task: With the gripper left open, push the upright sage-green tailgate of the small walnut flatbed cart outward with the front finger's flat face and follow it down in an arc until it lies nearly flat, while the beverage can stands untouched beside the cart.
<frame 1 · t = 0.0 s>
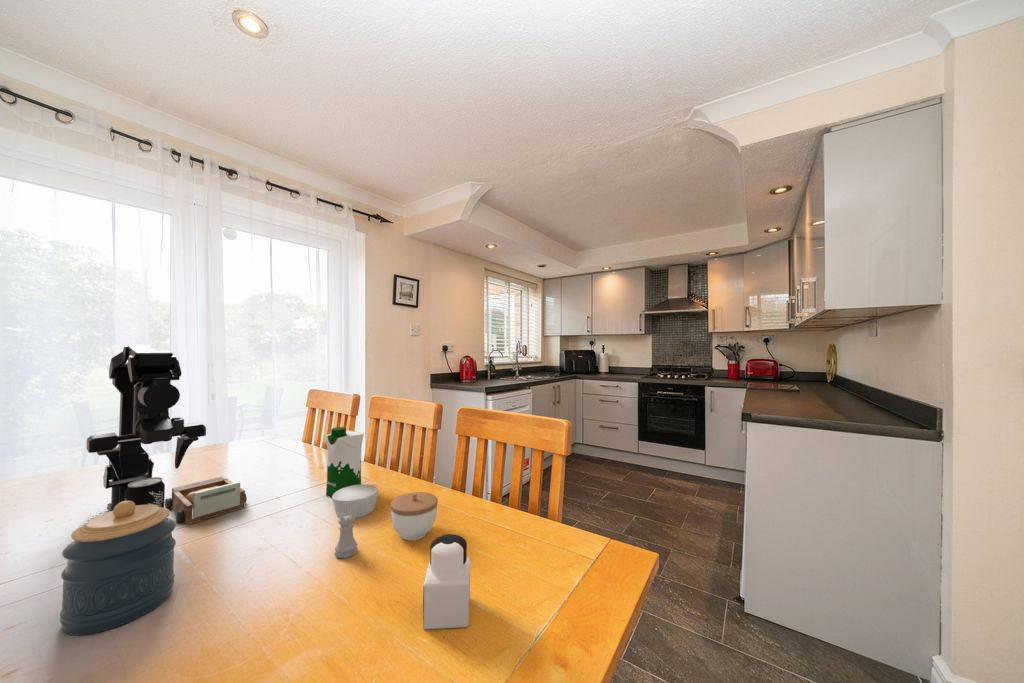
hand: (149, 473, 82), 15 cm above the table, fingers open, 9 cm apart
lidded jar: (414, 534, 85), on the table
canister: (121, 608, 60), on the table
milk carton: (344, 494, 107), on the table
medicine bottle: (447, 614, 60), on the table
rook chess piece: (346, 554, 76), on the table
ramekin: (355, 512, 96), on the table
tailgate: (217, 499, 93), point 4 cm above the table, hinge at 0.0°
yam: (204, 500, 99), point 1 cm above the table, touching flatbed cart
beverage can: (144, 533, 84), on the table
flatbed cart: (208, 507, 97), on the table
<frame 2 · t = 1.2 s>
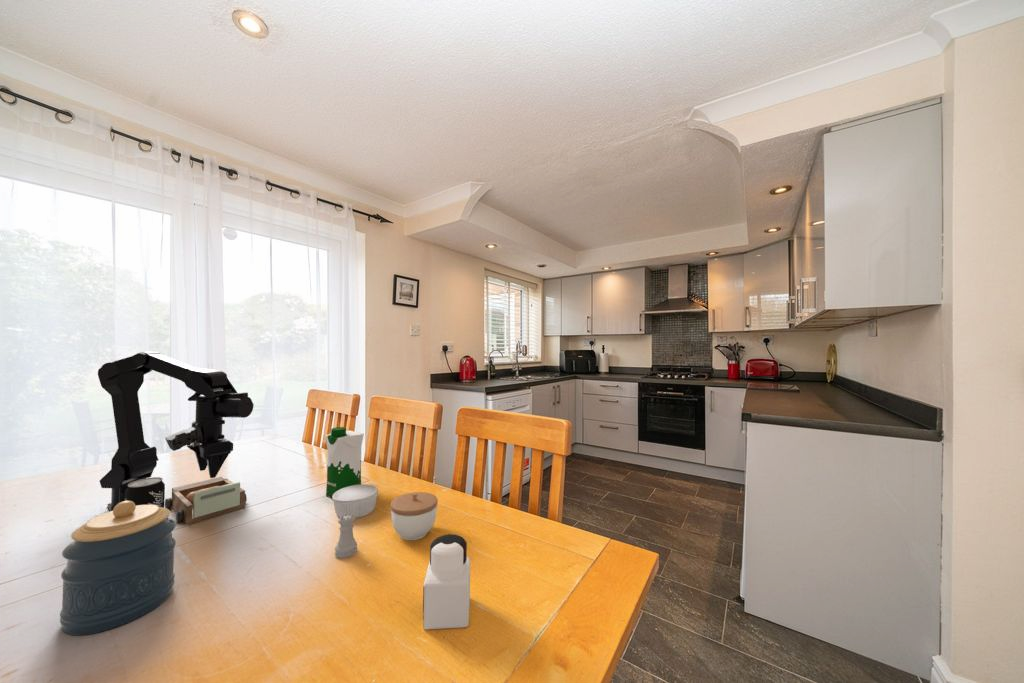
hand: (207, 474, 98), 9 cm above the table, fingers open, 9 cm apart
nothing on the table moved.
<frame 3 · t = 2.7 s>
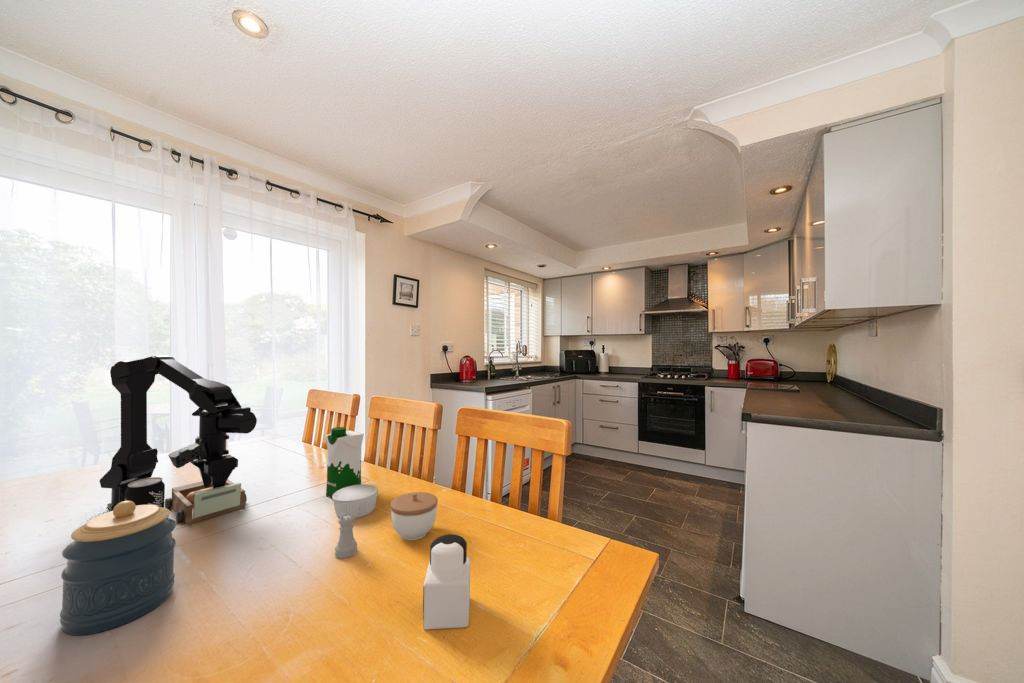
hand: (211, 490, 96), 5 cm above the table, fingers open, 8 cm apart
tailgate: (218, 499, 93), point 4 cm above the table, hinge at 6.7°, touching gripper
everything else where it was.
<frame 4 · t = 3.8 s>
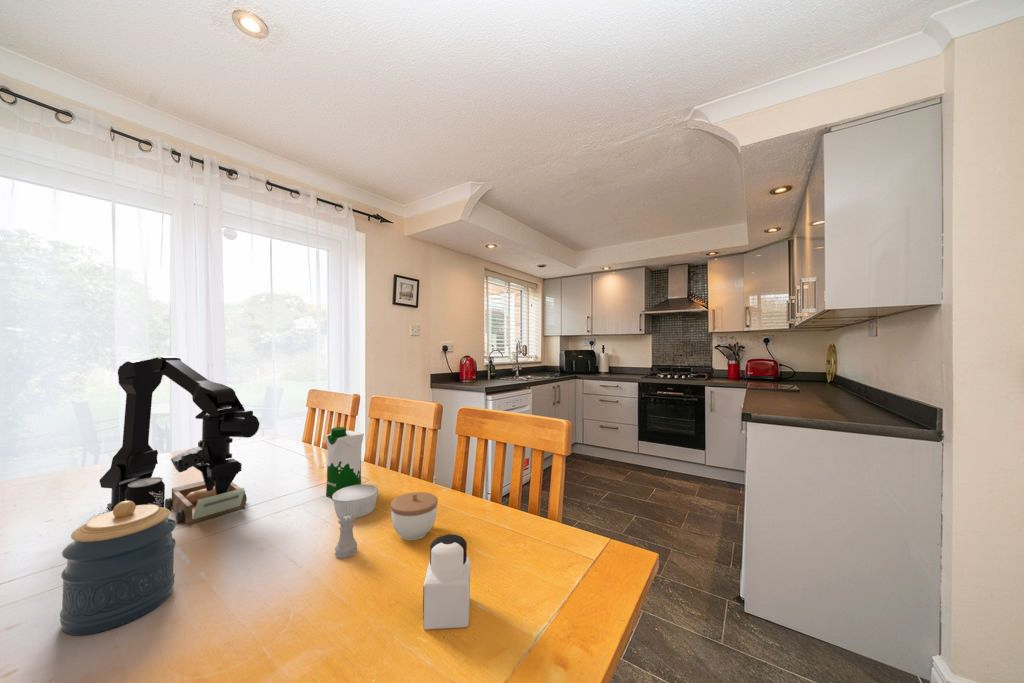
hand: (214, 494, 94), 5 cm above the table, fingers open, 8 cm apart
tailgate: (220, 503, 92), point 4 cm above the table, hinge at 34.9°, touching gripper
everything else where it was.
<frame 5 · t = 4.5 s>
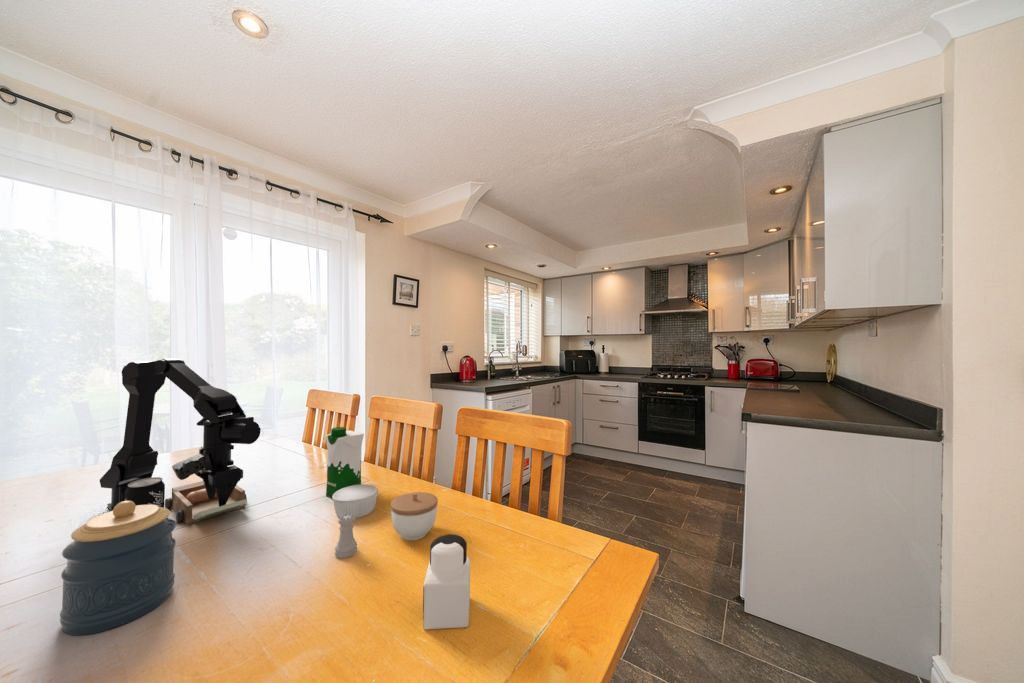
hand: (216, 502, 94), 3 cm above the table, fingers open, 8 cm apart
tailgate: (221, 509, 91), point 2 cm above the table, hinge at 65.1°, touching gripper
everything else where it was.
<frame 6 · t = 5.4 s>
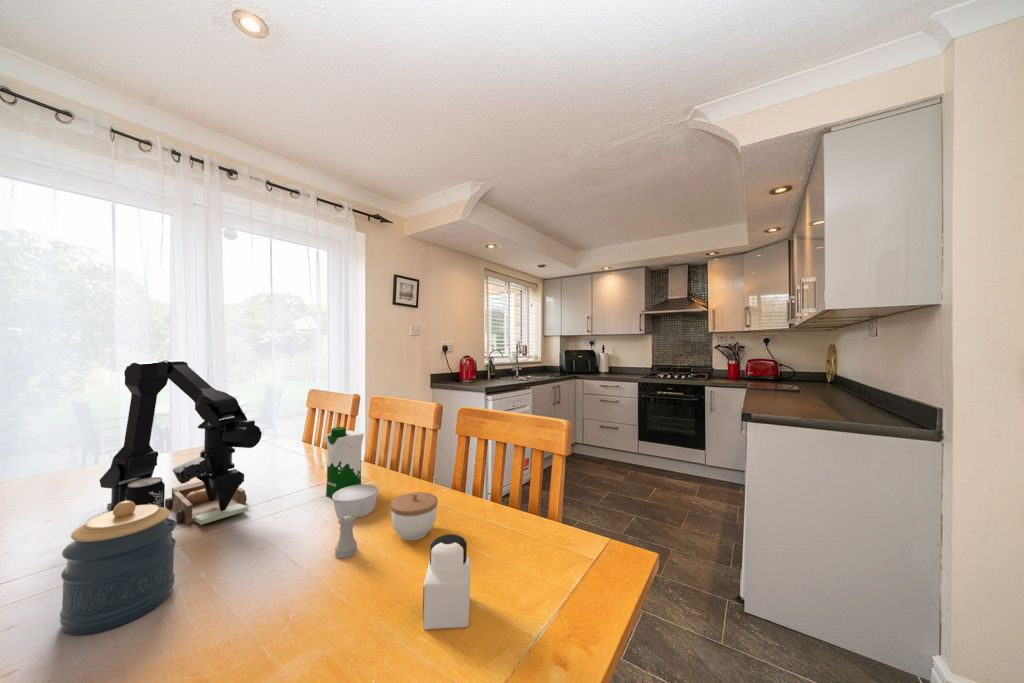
hand: (217, 505, 93), 2 cm above the table, fingers open, 9 cm apart
tailgate: (221, 513, 91), point 1 cm above the table, hinge at 82.7°
everything else where it was.
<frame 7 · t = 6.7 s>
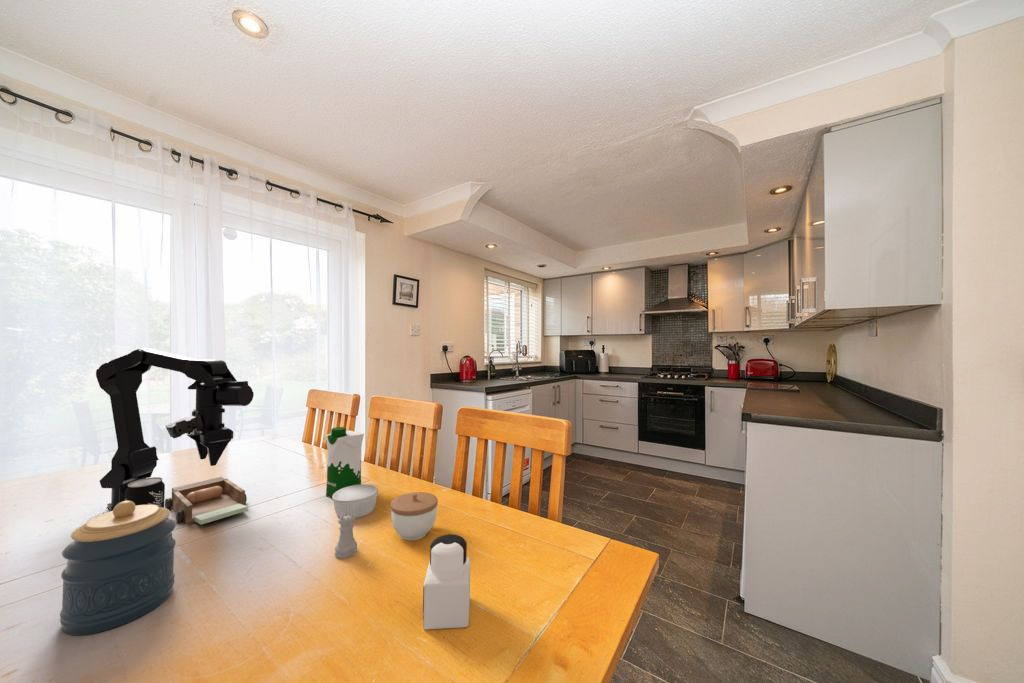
hand: (207, 462, 98), 12 cm above the table, fingers open, 9 cm apart
nothing on the table moved.
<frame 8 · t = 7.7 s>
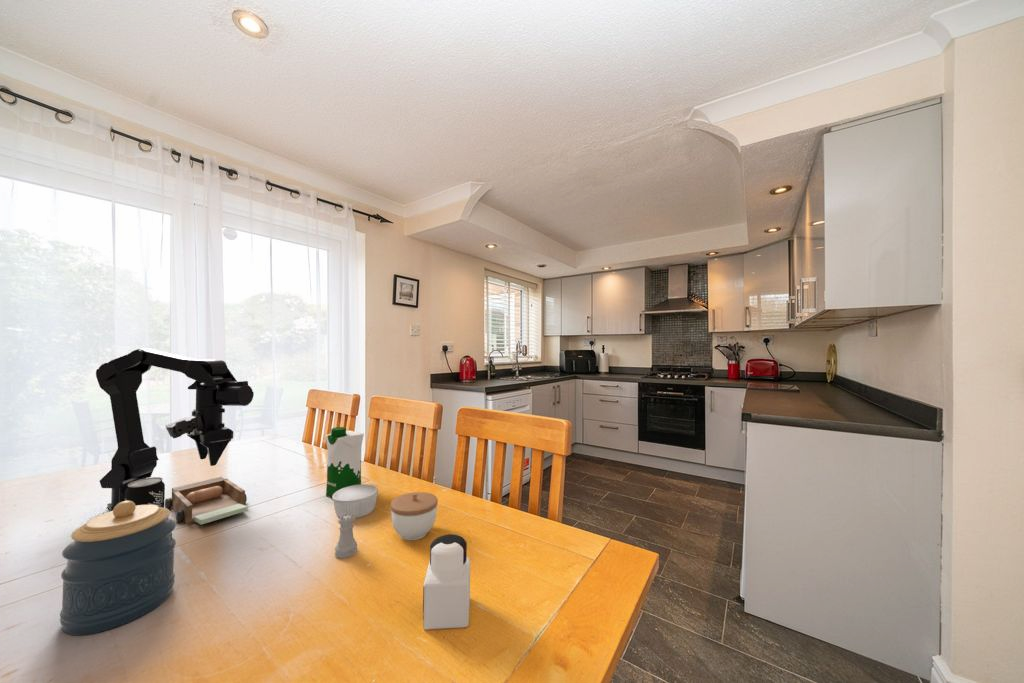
hand: (207, 462, 98), 12 cm above the table, fingers open, 9 cm apart
nothing on the table moved.
at the end: tailgate at +83° (first picture: +0°) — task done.
